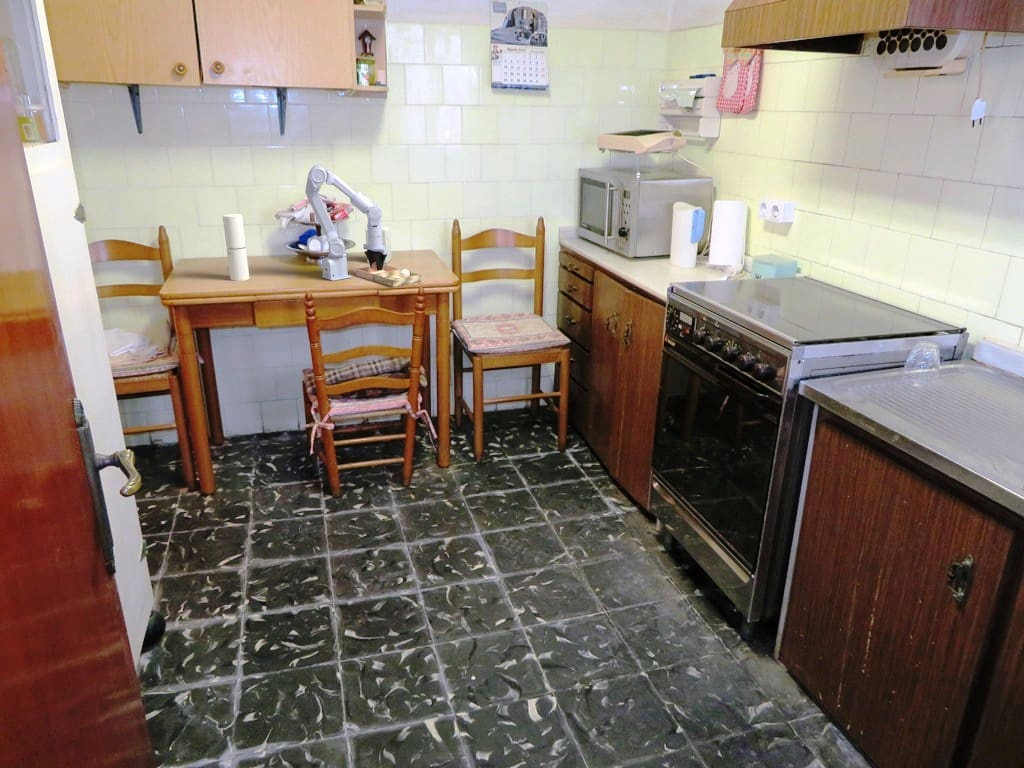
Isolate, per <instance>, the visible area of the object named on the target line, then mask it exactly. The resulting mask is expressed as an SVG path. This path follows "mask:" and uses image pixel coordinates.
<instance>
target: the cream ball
mask: <svg viewBox="0 0 1024 768" xmlns="http://www.w3.org/2000/svg"><path fill="white" fill-rule="evenodd" d="M409 276H410V273H409V270H408V269H402V271H401V272H400V277H401V278H405V277H409Z"/></svg>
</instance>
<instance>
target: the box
mask: <svg viewBox="0 0 1024 768" xmlns="http://www.w3.org/2000/svg"><path fill="white" fill-rule="evenodd" d="M402 270H403V269H402ZM402 270H397V271H392V272H386V273H381V274H375V275H374V281H373V282H375V283H379V284H381V285H384V286H387V287H391V288H397V287H402V286H407V285H411V284H416V283H417V284H418V283H422V281H423V280H422V274H419V273H416V272H413V271H409V270H408V271H409V273H410V276H409V277H405V278H401V277H400V272H401V271H402Z"/></svg>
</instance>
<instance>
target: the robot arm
mask: <svg viewBox="0 0 1024 768" xmlns="http://www.w3.org/2000/svg"><path fill="white" fill-rule="evenodd" d="M308 172H309V173H308V174H307V180H306V185H305V189H304V190H305V195H306V198H307V199H308V202H309V204H310V207H311V208H312V211H313V213H314V215H315V217H316V219H317V221H318V223H319V225H320V227H321V230H322V231H323V234H324V236H325V239H326V241H327V243H328V251H329V252H328V254H327V256H326V257H324V258H322V261H321V265H322V266H321V267H322V275H321V278H323V279H326V280H328V281H329V280H330V281H332V282H333V281H339V280H344V279H350V278H353V275H349V274H348V273H349V272H348V257H347V255H348V254H347V253H345V251H346V247H345V245H346V244H345V241H344V239H342V238H341V237H340V236H339V233H338V232H337V230H336V229H335V225H334V224H333V222H332V219H331V218H330V215H329V213H328V211H327V208H326V206H325V204H324V202H323V199H322V198H321V196H320V193H319V192H320V189H321V188H322V187H321V186H323V184H326V185H329V186H334V187H335V188H336V189H338V190H339V191H340V192H341V193H343V194H344V195H345V196H347V197H348V198H349V202H350V204H351V205H352V206H354V208H356V209H357V210H359V211H360V212H361V213H362V214H365V215H366V217H367V225H366V229H367V230H368V244H366V243H363V245H362V246H363V250H365V251H364V254H365V256H366V259H367V258H368V261H369V263H368V264H369V267H371V269H372V264H373V263H374V262H376V267H377V270H378V271H379V270H382V269H383V264H384V261H385V258H386V256H387V254H388V249H386V248H385V246H383V244H382V227H383V225H382V216H383V213H382V211H381V208H380V207H379V206H378V205H377V204H376V203H375V202H374V201H371V200H370V199H369V198H368V197H367V196H366V194H365V193H364V192H361V191H355V190H353V189H352V188H351V187H350V186H349V185H348V184H347V183H345V182H344V181H343V180H342V179H341V178H340V177H339V176H338V175H336V174H335V173H333V172H332V171H331V170H329V169H326V167H324V166H323V165H322V164H315V165H313V166H312V167H311V168H310V170H309V171H308Z"/></svg>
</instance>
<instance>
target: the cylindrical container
mask: <svg viewBox="0 0 1024 768" xmlns="http://www.w3.org/2000/svg"><path fill="white" fill-rule="evenodd" d="M243 219H244V217H243V214H241V213H227V214H222V223H223V231H224V239H225V246H226V252H227V253H226V254H227V262H228V270H229V277H230V279H229V280H231V281H233V280H234V281H233V282H243V281H248V280H249V279H250V273H249V272H250V270H249V262H248V254H247V247H246V245H247V244H246V236H245V229H244V220H243Z"/></svg>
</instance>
